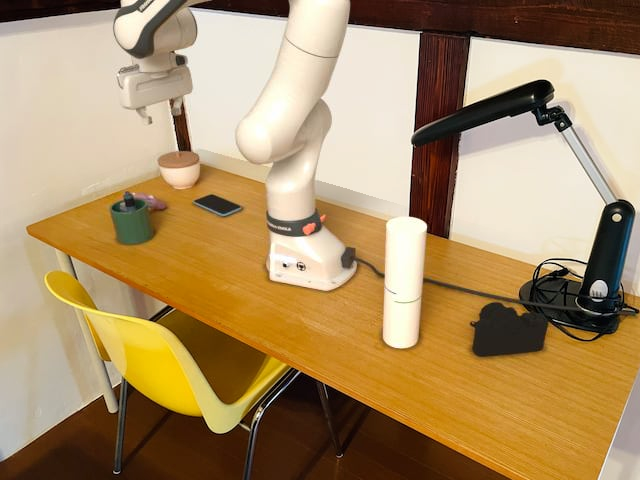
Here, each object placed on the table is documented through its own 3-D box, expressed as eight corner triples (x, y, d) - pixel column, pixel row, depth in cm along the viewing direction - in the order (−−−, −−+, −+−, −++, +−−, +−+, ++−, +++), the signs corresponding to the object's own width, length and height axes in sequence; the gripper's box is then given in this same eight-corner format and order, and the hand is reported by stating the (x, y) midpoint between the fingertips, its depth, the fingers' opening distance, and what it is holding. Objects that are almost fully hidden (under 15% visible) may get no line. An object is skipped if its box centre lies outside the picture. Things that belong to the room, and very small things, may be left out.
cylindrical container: (396, 321, 111) (401, 213, 98) (425, 335, 107) (434, 224, 94) (375, 338, 106) (378, 226, 93) (404, 353, 103) (411, 239, 89)
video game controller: (133, 213, 158) (121, 198, 152) (140, 201, 160) (128, 186, 154) (162, 217, 155) (151, 202, 149) (168, 205, 157) (158, 190, 152)
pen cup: (161, 233, 144) (154, 202, 139) (134, 247, 137) (126, 216, 132) (137, 225, 148) (130, 195, 143) (110, 239, 141) (101, 208, 136)
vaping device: (136, 236, 140) (126, 194, 134) (123, 231, 142) (112, 190, 136) (144, 232, 142) (134, 191, 136) (131, 228, 144) (121, 186, 138)
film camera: (527, 322, 111) (535, 286, 106) (548, 353, 103) (557, 315, 98) (457, 328, 109) (462, 292, 104) (472, 360, 101) (478, 322, 96)
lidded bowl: (193, 174, 180) (187, 142, 174) (210, 185, 172) (205, 152, 166) (156, 183, 173) (149, 150, 167) (172, 195, 165) (166, 161, 159)
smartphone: (211, 193, 164) (243, 206, 156) (212, 195, 165) (243, 209, 157) (191, 200, 160) (223, 214, 151) (191, 203, 160) (223, 217, 152)
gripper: (124, 70, 118) (138, 132, 125) (192, 55, 133) (200, 111, 140) (105, 67, 120) (120, 128, 127) (174, 53, 135) (183, 108, 143)
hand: (162, 119), depth 134 cm, fingers open, 8 cm apart
